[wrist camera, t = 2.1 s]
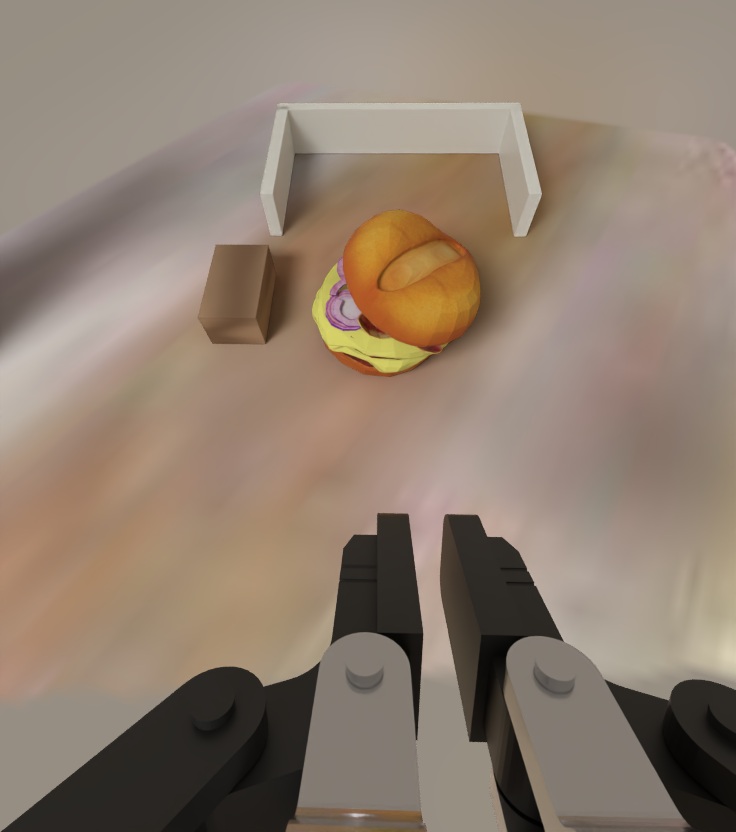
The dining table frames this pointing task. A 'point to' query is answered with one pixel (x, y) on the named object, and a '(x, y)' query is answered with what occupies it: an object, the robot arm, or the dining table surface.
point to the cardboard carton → (238, 295)
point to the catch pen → (402, 144)
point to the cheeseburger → (396, 295)
